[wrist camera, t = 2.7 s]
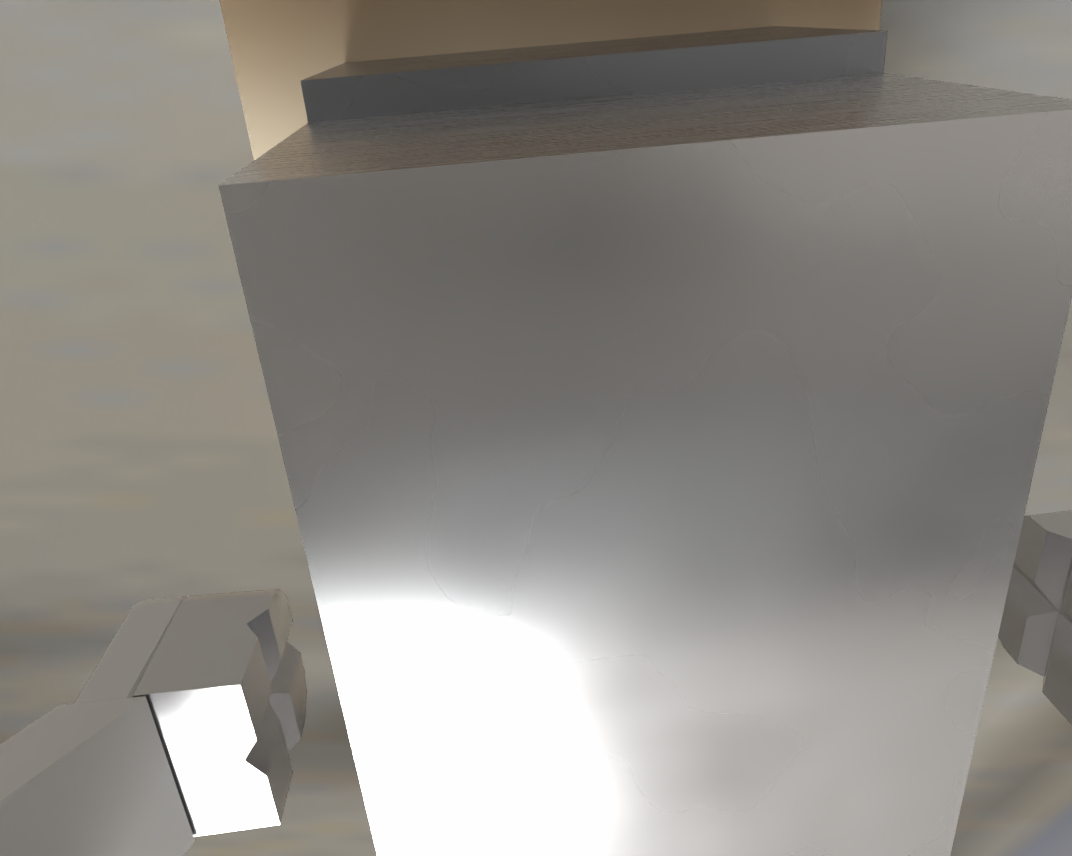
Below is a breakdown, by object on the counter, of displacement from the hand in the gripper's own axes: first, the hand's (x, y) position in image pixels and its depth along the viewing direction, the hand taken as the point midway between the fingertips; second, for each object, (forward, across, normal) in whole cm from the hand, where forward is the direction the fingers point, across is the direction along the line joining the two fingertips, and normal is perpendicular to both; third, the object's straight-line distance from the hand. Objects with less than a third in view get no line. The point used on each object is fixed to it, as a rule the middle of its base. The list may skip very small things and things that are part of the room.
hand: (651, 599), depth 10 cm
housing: (+5, 0, -1) cm, 5 cm away
